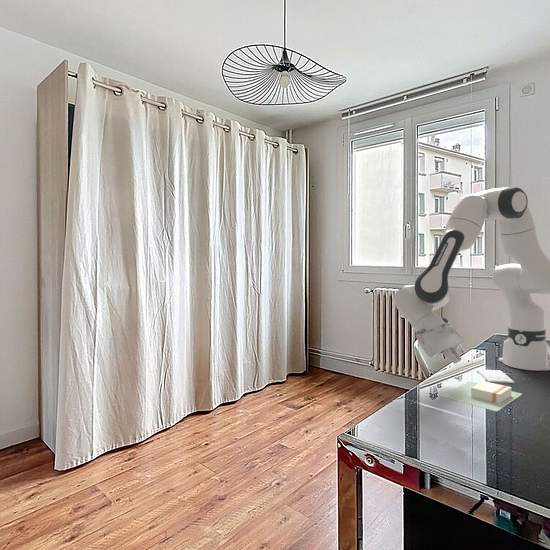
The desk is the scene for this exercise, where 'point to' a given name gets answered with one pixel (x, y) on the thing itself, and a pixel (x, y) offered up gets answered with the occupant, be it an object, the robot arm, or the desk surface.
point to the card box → (491, 392)
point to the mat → (465, 396)
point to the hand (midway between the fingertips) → (458, 361)
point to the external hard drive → (495, 376)
